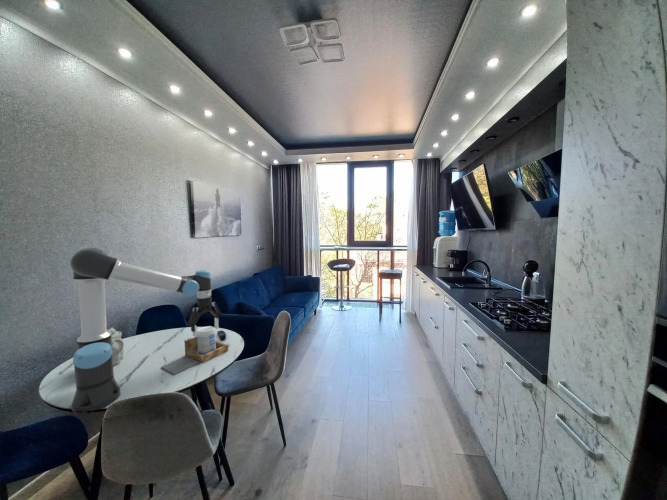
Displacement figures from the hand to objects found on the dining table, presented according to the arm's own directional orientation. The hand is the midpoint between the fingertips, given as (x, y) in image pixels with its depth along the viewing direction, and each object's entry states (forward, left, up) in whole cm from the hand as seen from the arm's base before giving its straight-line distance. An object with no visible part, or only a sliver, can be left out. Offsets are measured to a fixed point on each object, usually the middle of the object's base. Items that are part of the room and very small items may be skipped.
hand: (206, 332), depth 148 cm
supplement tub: (0, 0, -13) cm, 13 cm away
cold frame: (0, 0, -13) cm, 13 cm away
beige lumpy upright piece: (-34, +35, -13) cm, 50 cm away
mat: (-16, 0, -13) cm, 20 cm away
